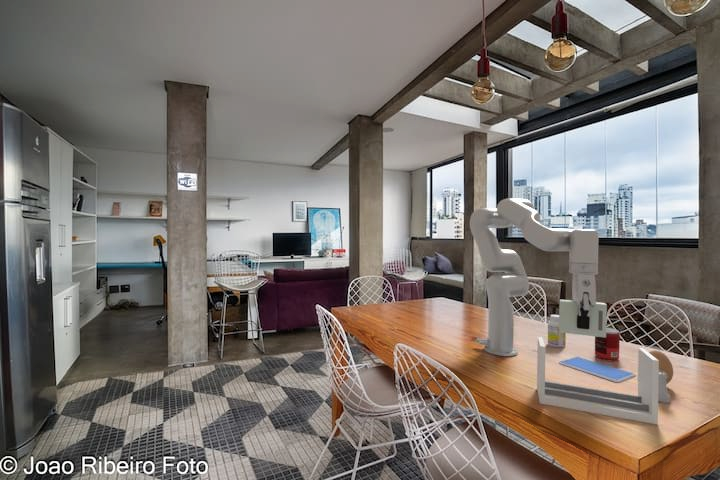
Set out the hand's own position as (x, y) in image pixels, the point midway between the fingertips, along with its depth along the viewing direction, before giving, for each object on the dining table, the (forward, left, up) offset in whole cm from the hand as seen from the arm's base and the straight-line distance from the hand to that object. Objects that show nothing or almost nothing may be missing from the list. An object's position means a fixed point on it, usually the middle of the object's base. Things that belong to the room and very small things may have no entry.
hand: (581, 326), depth 106 cm
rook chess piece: (+19, -1, -19) cm, 27 cm away
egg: (+22, +11, -19) cm, 31 cm away
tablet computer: (+7, +18, -19) cm, 28 cm away
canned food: (+14, +34, -19) cm, 41 cm away
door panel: (0, 0, -2) cm, 2 cm away
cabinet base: (0, -13, -19) cm, 23 cm away
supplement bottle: (-2, +43, -19) cm, 47 cm away
